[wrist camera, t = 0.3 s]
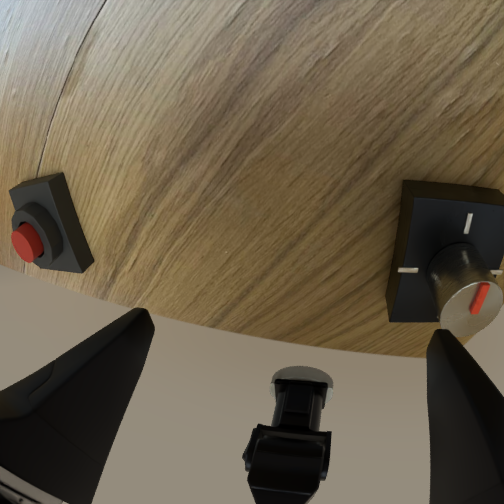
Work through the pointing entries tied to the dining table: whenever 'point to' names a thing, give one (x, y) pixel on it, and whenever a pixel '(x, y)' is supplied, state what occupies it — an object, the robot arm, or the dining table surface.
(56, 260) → the button block
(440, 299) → the dial
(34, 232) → the button
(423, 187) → the dial panel
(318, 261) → the dining table surface
